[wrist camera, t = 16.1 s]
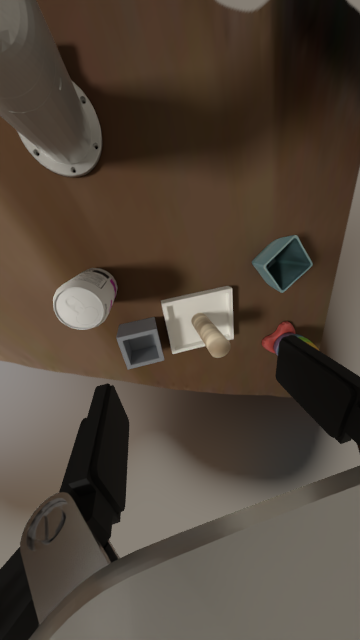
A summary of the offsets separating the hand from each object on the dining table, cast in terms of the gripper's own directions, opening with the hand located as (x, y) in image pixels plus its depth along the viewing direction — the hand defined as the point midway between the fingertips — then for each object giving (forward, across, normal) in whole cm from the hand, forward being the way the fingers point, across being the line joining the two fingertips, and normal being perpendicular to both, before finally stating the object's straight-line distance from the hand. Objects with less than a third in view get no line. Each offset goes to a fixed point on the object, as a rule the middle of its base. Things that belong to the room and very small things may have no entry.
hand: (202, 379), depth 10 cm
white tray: (+36, -9, +15) cm, 40 cm away
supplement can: (+36, +13, +1) cm, 39 cm away
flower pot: (+36, -28, +3) cm, 46 cm away
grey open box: (+36, +7, +16) cm, 40 cm away
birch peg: (+35, -9, +15) cm, 39 cm away
